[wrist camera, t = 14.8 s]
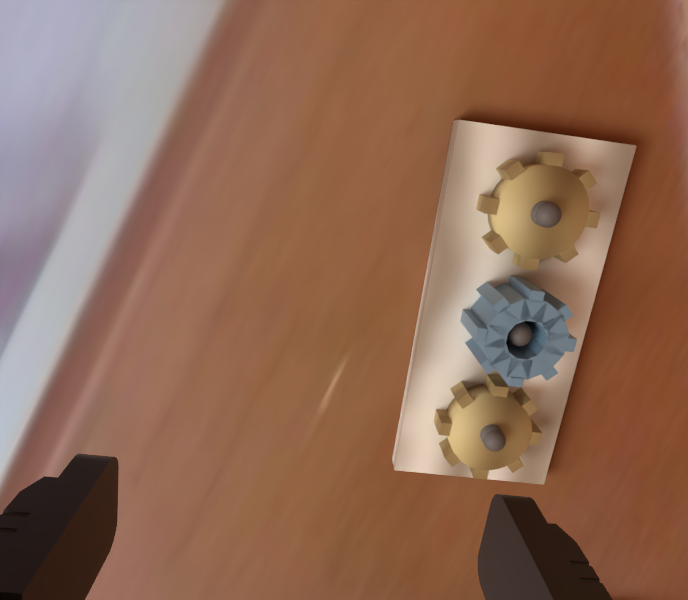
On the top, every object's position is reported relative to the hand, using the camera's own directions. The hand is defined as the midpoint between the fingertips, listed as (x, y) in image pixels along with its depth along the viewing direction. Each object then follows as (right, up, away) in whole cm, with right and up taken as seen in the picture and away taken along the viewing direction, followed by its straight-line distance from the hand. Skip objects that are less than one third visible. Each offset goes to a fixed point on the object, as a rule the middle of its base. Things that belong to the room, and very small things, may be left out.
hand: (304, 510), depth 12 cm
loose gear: (+12, +3, +27) cm, 30 cm away
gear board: (+12, +3, +29) cm, 32 cm away
